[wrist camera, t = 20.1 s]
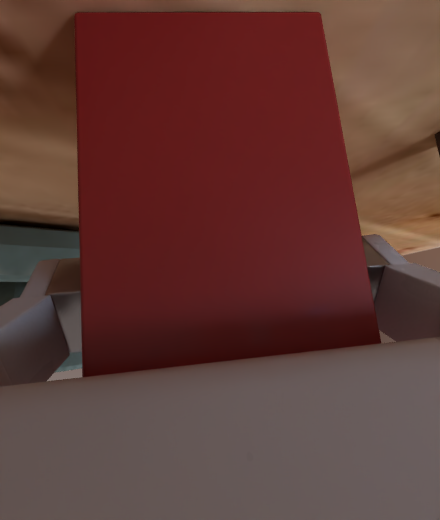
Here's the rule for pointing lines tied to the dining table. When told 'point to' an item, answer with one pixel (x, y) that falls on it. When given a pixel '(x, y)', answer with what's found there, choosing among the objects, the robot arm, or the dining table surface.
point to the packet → (213, 192)
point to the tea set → (33, 262)
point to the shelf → (438, 141)
